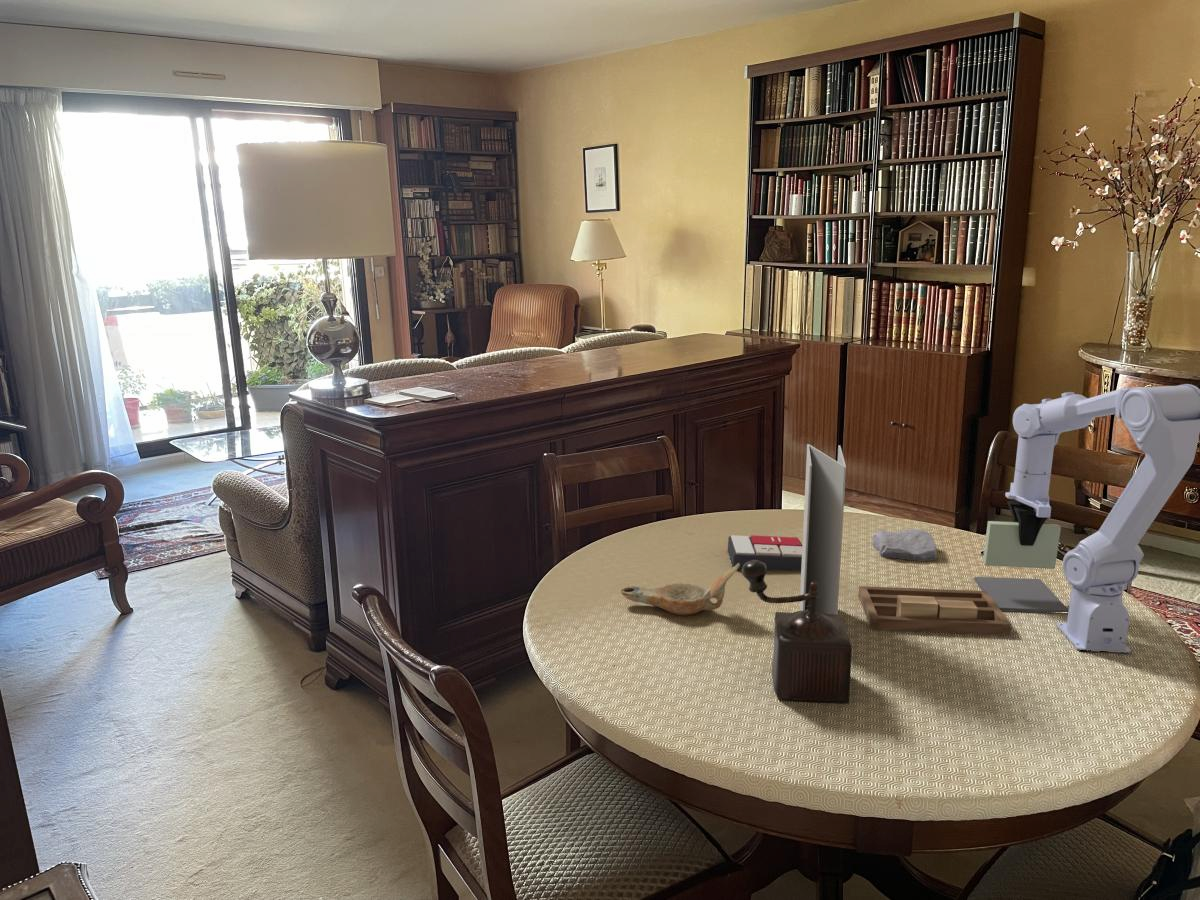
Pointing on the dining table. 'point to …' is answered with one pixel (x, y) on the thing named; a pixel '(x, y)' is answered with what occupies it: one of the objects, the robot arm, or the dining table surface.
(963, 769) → the dining table surface
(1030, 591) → the mat
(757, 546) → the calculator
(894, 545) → the stone block
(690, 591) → the oil lamp
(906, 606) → the offcut
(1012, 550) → the pale green rectangular block
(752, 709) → the dining table surface
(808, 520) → the brochure
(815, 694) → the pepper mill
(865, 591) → the rack
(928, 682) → the dining table surface
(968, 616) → the offcut
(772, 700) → the dining table surface
